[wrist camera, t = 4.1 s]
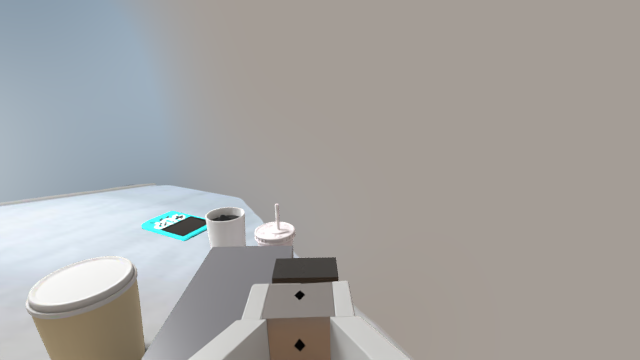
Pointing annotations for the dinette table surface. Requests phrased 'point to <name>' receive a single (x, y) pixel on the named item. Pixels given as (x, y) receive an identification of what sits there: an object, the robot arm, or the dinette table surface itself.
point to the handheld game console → (176, 225)
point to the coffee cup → (89, 311)
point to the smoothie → (275, 233)
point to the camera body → (214, 299)
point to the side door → (305, 270)
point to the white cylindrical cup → (226, 227)
